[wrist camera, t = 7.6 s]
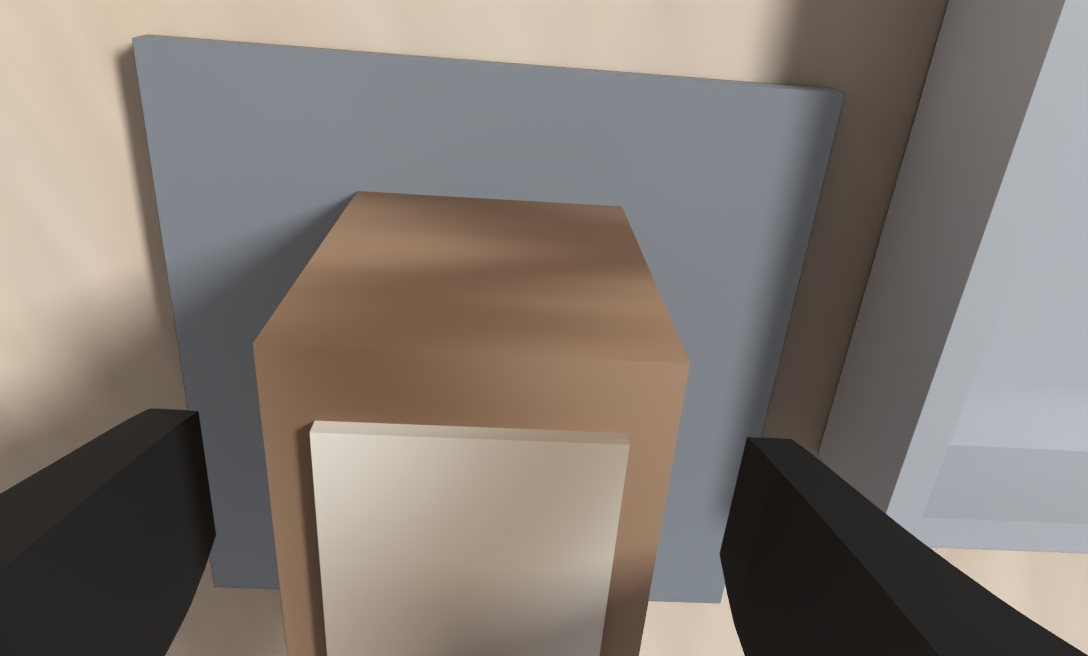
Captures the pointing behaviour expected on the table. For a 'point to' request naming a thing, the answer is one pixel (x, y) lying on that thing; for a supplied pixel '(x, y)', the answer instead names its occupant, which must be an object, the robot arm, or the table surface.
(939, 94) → the grey bin
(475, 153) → the slate mat
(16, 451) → the table surface
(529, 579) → the labelled block
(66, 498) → the robot arm
